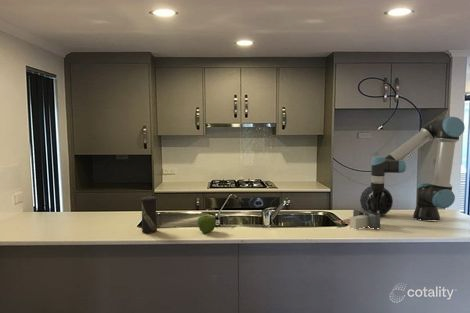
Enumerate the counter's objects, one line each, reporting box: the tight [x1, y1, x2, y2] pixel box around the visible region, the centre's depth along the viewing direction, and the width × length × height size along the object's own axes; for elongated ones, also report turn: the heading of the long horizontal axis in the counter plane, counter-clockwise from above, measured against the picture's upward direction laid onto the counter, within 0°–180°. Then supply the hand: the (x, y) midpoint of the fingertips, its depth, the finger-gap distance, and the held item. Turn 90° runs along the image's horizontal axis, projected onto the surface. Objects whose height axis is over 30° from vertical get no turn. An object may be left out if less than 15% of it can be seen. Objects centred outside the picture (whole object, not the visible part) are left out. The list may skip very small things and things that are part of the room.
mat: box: [333, 218, 350, 225], centre depth 227 cm, size 20×9×1 cm, turn 117°
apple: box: [197, 214, 217, 234], centre depth 204 cm, size 11×10×10 cm
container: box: [140, 195, 158, 234], centre depth 206 cm, size 9×9×20 cm
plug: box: [349, 213, 369, 230], centre depth 215 cm, size 18×6×7 cm, turn 119°
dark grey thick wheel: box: [359, 186, 394, 217], centre depth 242 cm, size 11×20×20 cm, turn 96°
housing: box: [352, 208, 381, 229], centre depth 216 cm, size 4×17×9 cm, turn 27°
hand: (376, 221), depth 221 cm, fingers closed
